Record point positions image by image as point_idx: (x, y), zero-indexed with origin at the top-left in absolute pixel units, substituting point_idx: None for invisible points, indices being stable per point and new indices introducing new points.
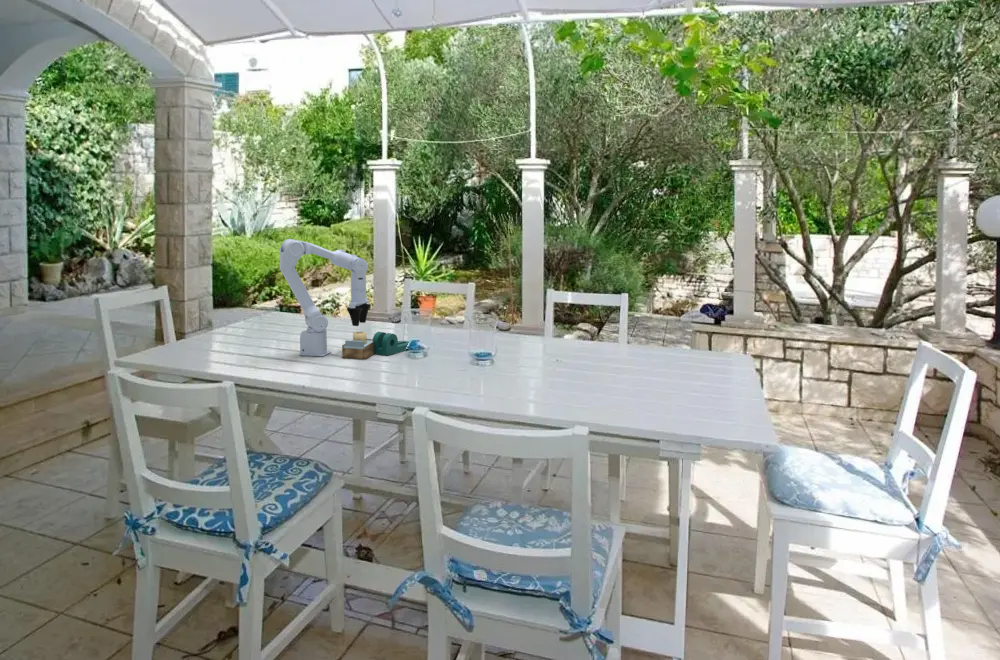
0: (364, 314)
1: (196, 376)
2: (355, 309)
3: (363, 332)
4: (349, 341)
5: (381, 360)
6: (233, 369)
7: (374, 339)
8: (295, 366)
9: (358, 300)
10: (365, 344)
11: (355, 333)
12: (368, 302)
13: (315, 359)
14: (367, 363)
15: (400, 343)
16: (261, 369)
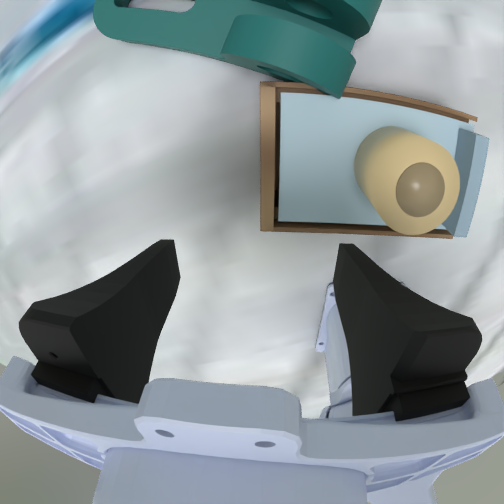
0: (142, 289)
1: (500, 382)
2: (459, 369)
3: (420, 163)
4: (472, 213)
5: (443, 39)
6: (480, 374)
7: (345, 84)
8: (497, 299)
9: (366, 495)
10: (415, 127)
11: (441, 212)
12: (250, 391)
13: (435, 289)
14: (493, 95)
15: (140, 9)
16: (498, 341)
